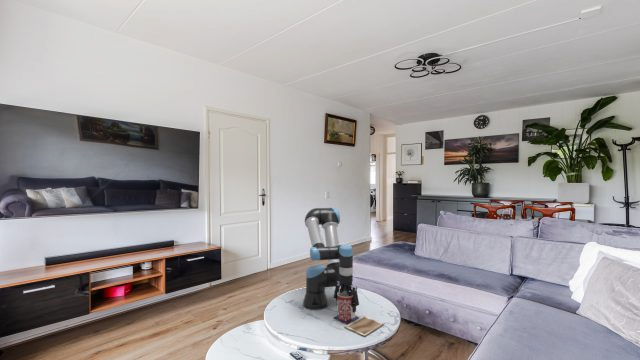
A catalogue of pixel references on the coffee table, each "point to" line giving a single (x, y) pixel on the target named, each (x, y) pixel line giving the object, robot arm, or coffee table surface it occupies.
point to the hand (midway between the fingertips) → (346, 314)
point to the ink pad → (345, 321)
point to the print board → (364, 326)
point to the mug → (344, 306)
